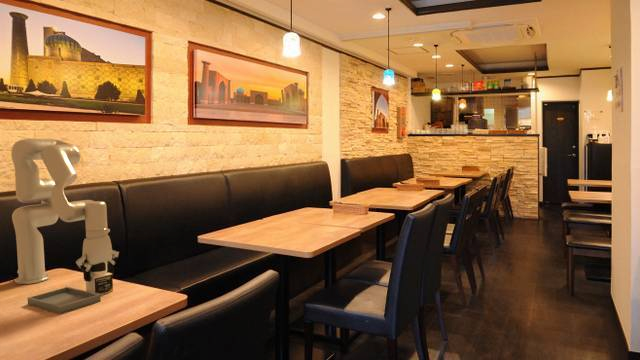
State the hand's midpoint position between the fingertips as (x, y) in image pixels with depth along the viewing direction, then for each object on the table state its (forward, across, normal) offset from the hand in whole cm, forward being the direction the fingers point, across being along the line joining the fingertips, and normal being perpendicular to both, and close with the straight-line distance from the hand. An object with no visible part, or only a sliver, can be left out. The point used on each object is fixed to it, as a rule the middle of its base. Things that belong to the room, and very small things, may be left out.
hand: (99, 277), depth 182 cm
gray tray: (+6, +14, 0) cm, 15 cm away
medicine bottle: (+6, 0, 0) cm, 6 cm away
